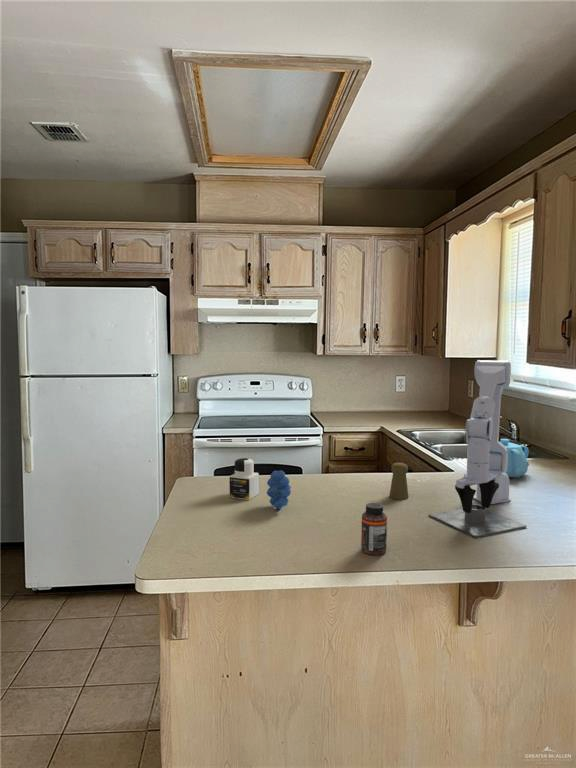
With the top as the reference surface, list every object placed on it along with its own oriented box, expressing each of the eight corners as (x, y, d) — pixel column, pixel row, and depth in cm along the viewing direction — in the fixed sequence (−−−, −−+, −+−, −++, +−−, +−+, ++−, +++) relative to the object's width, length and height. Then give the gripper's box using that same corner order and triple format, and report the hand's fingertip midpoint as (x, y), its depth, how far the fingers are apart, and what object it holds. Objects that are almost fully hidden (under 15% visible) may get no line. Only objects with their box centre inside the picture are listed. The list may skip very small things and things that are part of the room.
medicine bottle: (229, 497, 162) (228, 460, 161) (239, 491, 169) (239, 456, 168) (249, 500, 160) (249, 462, 159) (259, 494, 166) (259, 458, 165)
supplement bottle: (358, 546, 125) (359, 501, 124) (382, 545, 125) (383, 500, 124) (364, 556, 119) (365, 509, 118) (389, 555, 119) (390, 508, 118)
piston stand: (476, 507, 153) (476, 497, 153) (526, 527, 137) (526, 516, 137) (428, 515, 146) (428, 505, 146) (475, 538, 130) (475, 526, 129)
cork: (408, 500, 160) (409, 466, 159) (389, 499, 161) (389, 465, 160) (408, 494, 166) (409, 461, 165) (389, 493, 167) (390, 460, 166)
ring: (473, 514, 145) (473, 502, 145) (488, 520, 141) (489, 507, 141) (460, 517, 143) (461, 505, 142) (476, 523, 138) (476, 511, 138)
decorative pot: (472, 475, 191) (473, 439, 189) (491, 467, 202) (492, 433, 201) (516, 484, 179) (518, 445, 178) (534, 475, 190) (535, 439, 189)
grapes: (301, 512, 149) (301, 471, 148) (281, 516, 145) (281, 475, 144) (281, 501, 159) (281, 463, 158) (262, 505, 155) (261, 466, 154)
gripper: (483, 455, 147) (482, 501, 148) (448, 461, 140) (446, 509, 141) (504, 460, 141) (503, 508, 142) (468, 467, 134) (467, 517, 135)
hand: (476, 509), depth 141 cm, fingers open, 7 cm apart
